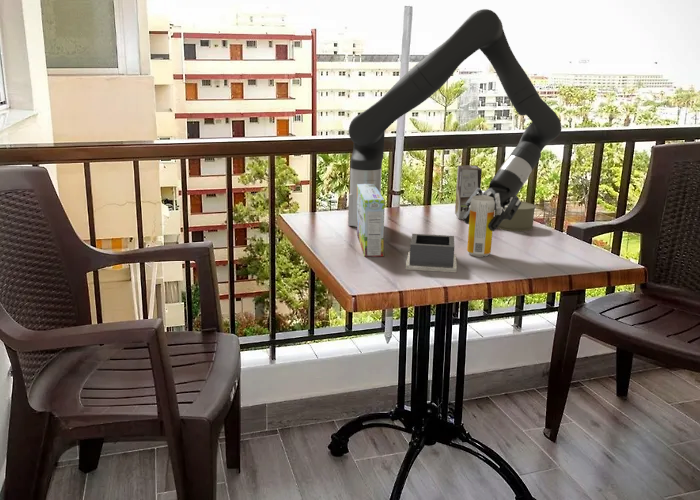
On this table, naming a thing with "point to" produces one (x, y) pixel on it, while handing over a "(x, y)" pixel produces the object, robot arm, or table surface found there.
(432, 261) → the can holder
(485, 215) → the beer can
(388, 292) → the table surface
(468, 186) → the coffee box
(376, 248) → the snack box
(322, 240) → the table surface
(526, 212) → the grey round container
